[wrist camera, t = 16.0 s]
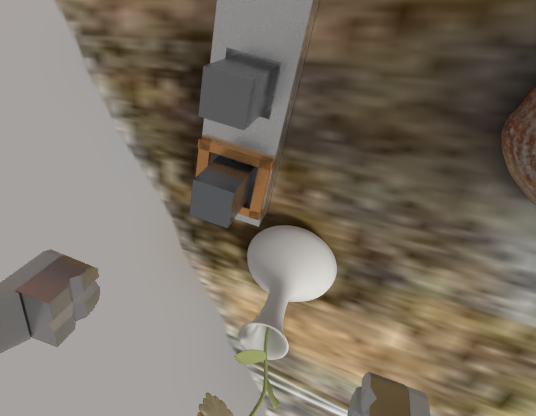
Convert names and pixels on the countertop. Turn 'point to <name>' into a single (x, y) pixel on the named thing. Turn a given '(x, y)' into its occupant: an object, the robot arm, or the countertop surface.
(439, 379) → the countertop surface
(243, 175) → the gray rectangular block
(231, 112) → the switch
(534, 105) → the bread
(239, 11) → the rail
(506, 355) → the countertop surface
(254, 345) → the flower in vase
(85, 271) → the robot arm
